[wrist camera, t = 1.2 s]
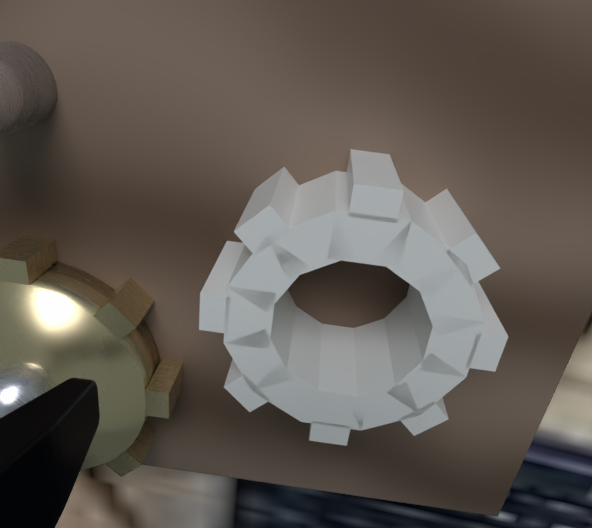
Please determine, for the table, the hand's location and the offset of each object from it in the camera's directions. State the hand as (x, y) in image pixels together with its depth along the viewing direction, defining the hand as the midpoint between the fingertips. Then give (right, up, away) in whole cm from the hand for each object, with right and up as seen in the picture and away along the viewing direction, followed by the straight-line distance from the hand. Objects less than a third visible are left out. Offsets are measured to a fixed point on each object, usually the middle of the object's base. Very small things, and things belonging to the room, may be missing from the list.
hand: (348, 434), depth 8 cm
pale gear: (+1, +3, +5) cm, 6 cm away
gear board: (-3, +4, +7) cm, 8 cm away
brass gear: (-9, 0, +8) cm, 12 cm away
